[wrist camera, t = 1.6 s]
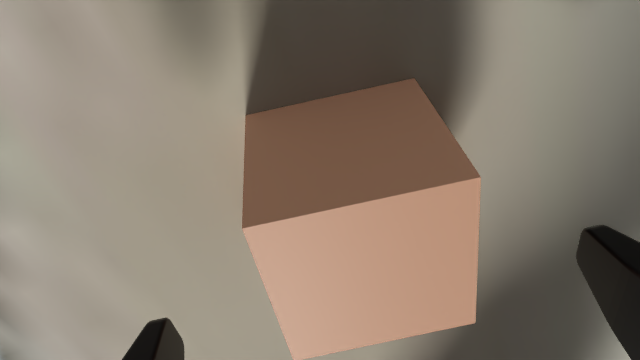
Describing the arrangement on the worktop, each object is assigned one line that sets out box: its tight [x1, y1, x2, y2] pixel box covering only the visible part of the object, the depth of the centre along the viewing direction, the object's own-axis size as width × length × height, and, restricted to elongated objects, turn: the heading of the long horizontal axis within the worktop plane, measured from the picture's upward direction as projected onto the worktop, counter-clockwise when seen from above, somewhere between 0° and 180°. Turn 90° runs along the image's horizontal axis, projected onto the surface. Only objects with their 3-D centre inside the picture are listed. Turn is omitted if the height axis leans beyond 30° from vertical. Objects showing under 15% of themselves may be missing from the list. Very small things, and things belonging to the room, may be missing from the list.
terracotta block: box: [242, 78, 481, 360], centre depth 12 cm, size 4×4×4 cm
